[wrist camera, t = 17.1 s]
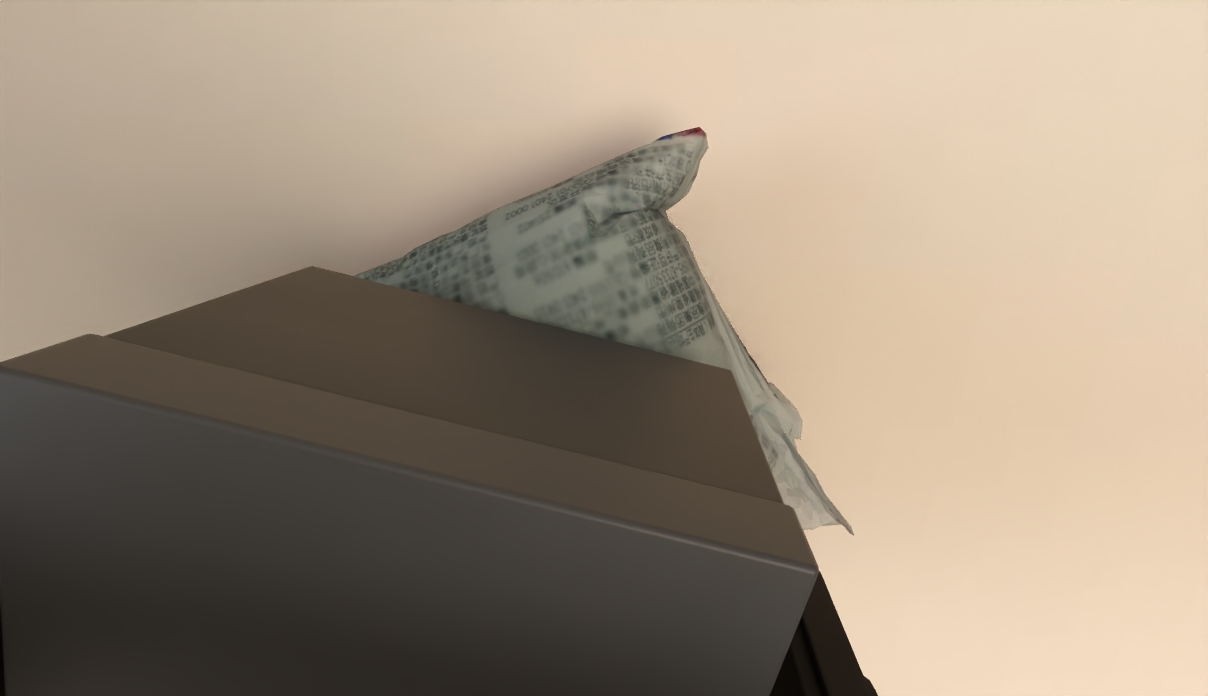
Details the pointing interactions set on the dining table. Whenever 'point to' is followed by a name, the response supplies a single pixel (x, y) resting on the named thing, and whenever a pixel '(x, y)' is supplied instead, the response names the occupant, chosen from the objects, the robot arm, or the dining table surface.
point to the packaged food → (615, 284)
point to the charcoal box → (385, 508)
